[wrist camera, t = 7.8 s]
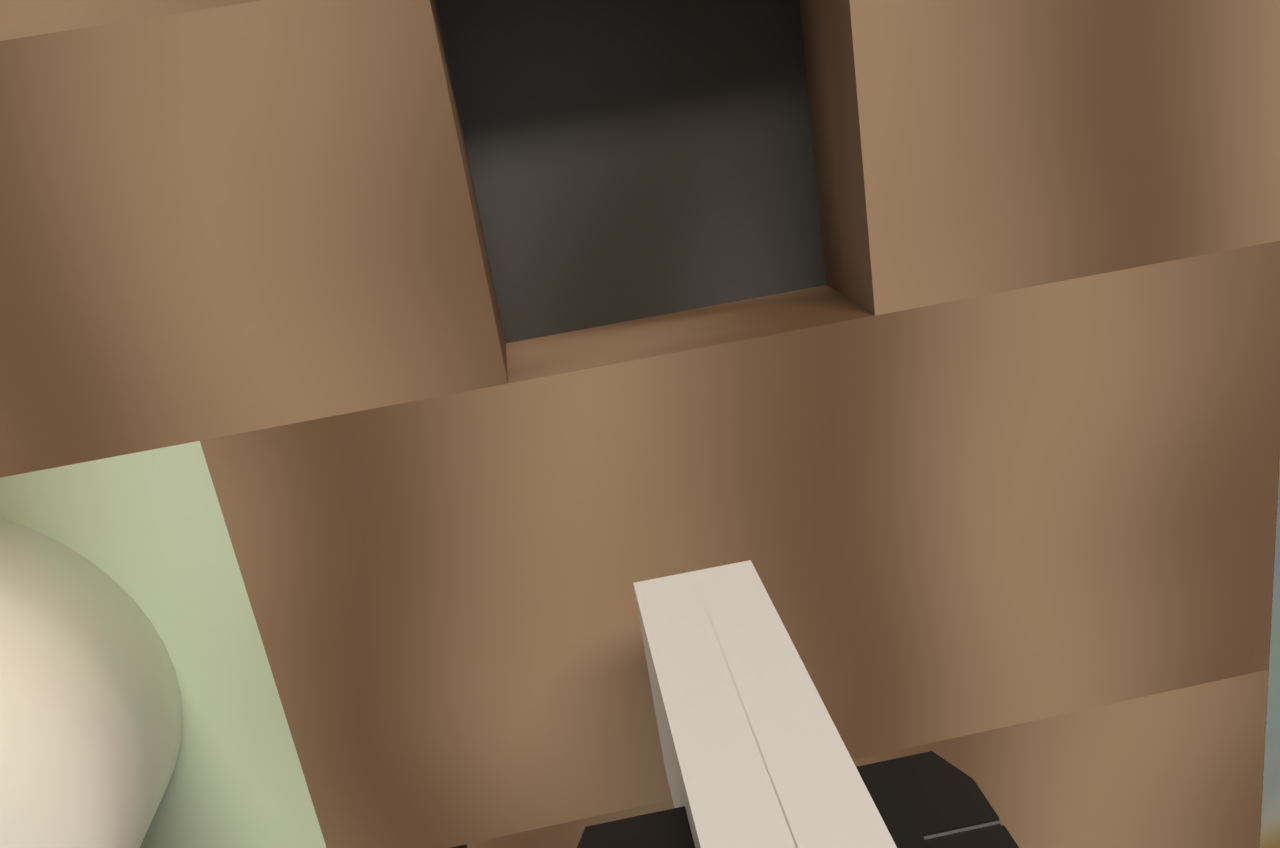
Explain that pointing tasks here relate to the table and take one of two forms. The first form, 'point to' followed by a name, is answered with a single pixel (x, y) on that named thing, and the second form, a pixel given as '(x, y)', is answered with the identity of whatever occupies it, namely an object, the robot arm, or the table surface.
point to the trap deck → (656, 389)
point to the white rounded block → (79, 702)
